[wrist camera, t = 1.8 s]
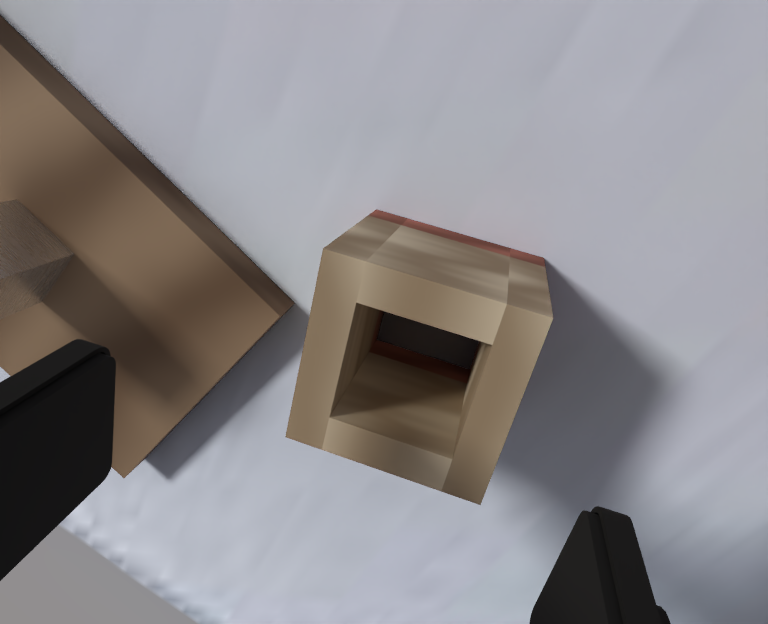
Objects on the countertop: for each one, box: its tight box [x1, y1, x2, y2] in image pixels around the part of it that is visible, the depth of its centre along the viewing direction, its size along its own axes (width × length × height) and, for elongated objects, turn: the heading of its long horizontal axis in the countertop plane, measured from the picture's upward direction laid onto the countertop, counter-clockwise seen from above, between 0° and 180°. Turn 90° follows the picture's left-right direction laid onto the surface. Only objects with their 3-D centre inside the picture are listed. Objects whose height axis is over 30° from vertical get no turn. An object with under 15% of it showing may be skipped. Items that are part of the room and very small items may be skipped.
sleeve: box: [286, 210, 553, 505], centre depth 18 cm, size 6×6×6 cm
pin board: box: [0, 16, 295, 478], centre depth 23 cm, size 18×12×2 cm, turn 47°
